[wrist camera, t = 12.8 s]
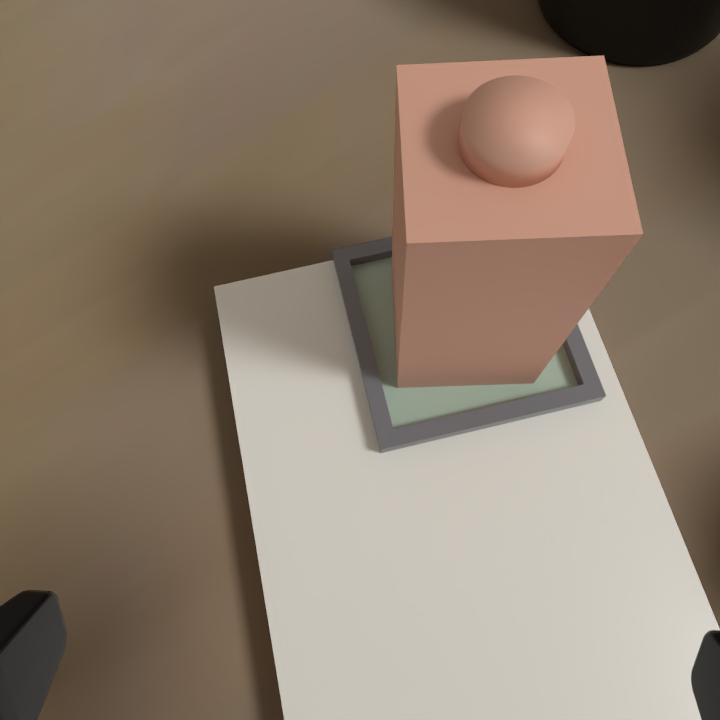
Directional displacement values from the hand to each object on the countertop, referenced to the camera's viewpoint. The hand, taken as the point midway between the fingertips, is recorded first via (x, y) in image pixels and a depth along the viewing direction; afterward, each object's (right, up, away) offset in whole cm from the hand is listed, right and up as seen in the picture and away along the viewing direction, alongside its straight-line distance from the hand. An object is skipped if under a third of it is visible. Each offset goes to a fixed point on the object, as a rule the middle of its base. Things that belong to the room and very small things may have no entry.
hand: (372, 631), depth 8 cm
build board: (+3, -1, +14) cm, 14 cm away
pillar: (+4, +5, +15) cm, 16 cm away
